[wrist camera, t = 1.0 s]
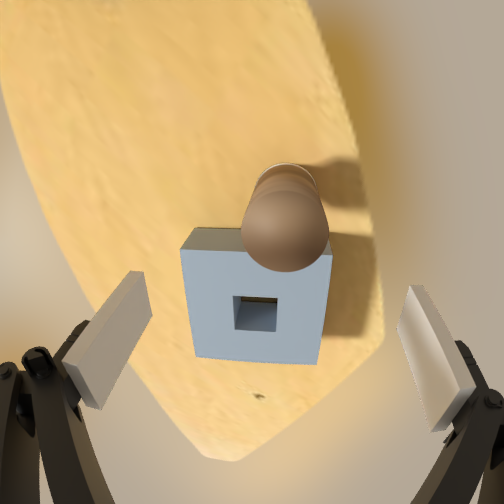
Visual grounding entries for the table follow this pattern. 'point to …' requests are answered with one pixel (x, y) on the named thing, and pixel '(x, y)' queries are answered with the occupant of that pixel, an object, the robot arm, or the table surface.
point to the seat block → (251, 313)
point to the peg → (285, 220)
